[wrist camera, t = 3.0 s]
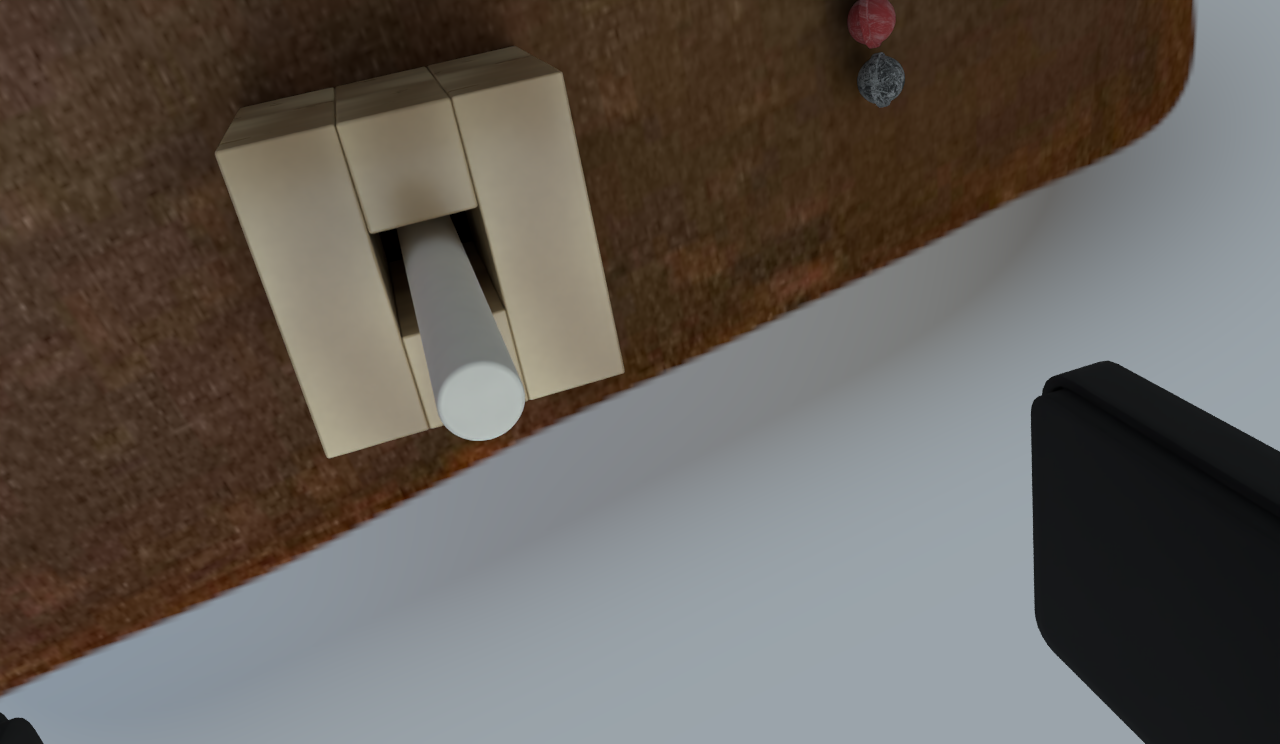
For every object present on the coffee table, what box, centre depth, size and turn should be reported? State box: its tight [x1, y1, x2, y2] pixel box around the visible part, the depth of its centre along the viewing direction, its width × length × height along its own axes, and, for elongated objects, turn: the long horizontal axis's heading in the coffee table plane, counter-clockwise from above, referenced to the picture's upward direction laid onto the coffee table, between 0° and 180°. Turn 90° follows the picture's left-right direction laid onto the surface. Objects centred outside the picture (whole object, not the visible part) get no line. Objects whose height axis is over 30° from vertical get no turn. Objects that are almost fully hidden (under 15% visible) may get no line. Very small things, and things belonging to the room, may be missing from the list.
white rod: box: [396, 215, 525, 441], centre depth 22 cm, size 1×1×13 cm
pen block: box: [215, 46, 625, 458], centre depth 25 cm, size 7×7×6 cm
